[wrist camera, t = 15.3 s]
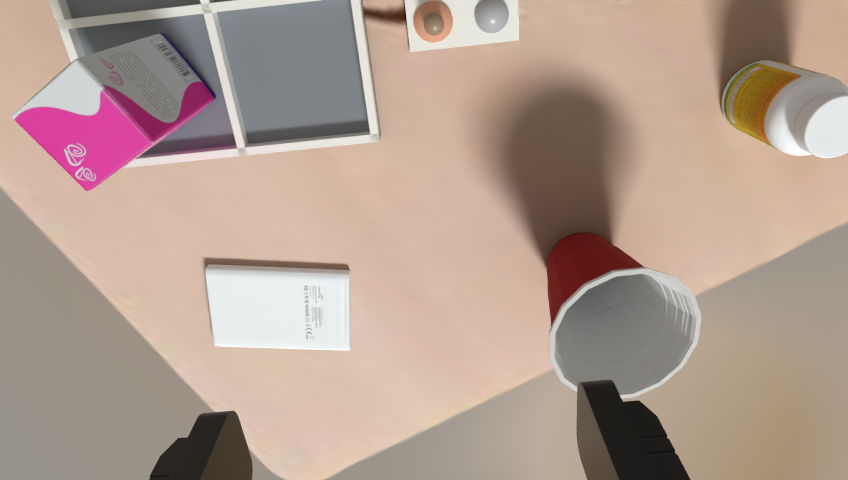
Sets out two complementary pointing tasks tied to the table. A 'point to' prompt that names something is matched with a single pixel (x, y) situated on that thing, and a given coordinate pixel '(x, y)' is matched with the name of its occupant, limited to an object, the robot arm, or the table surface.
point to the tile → (460, 23)
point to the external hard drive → (279, 307)
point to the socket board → (247, 69)
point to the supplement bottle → (789, 108)
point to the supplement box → (114, 107)
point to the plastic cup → (616, 317)
